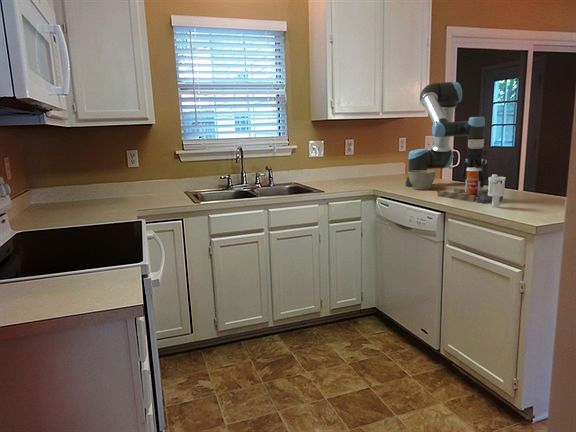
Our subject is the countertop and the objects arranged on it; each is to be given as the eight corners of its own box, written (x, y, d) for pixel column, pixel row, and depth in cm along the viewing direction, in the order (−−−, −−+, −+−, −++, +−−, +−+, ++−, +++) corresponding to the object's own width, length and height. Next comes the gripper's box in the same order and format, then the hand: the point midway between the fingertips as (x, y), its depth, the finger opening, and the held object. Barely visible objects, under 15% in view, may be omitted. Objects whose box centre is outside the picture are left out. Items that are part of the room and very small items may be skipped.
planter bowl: (436, 190, 255) (437, 172, 253) (408, 191, 258) (409, 173, 256) (433, 186, 270) (433, 169, 268) (407, 187, 274) (407, 170, 272)
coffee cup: (461, 196, 223) (463, 167, 220) (469, 194, 229) (471, 166, 225) (477, 198, 217) (479, 168, 214) (485, 195, 222) (486, 167, 219)
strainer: (498, 205, 204) (500, 173, 201) (506, 207, 197) (508, 175, 194) (484, 206, 204) (485, 174, 201) (491, 208, 197) (493, 176, 194)
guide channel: (437, 196, 236) (437, 185, 235) (456, 193, 242) (456, 182, 241) (483, 203, 210) (483, 191, 208) (503, 200, 216) (503, 188, 214)
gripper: (454, 147, 225) (453, 191, 230) (487, 148, 207) (485, 195, 212) (464, 147, 228) (463, 189, 233) (497, 147, 211) (495, 193, 215)
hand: (473, 192), depth 222 cm, fingers closed on coffee cup, 7 cm apart
